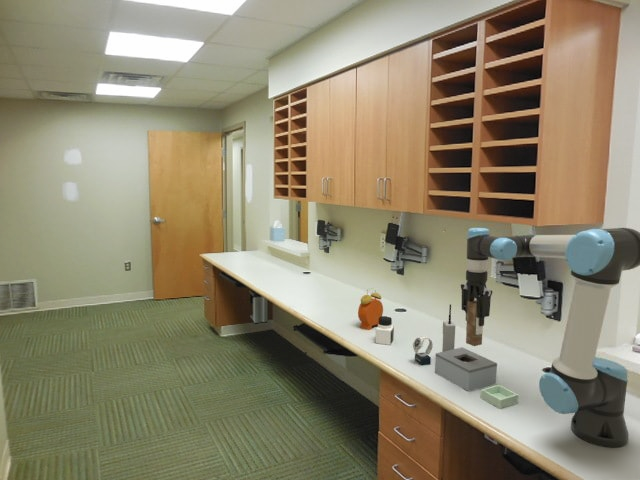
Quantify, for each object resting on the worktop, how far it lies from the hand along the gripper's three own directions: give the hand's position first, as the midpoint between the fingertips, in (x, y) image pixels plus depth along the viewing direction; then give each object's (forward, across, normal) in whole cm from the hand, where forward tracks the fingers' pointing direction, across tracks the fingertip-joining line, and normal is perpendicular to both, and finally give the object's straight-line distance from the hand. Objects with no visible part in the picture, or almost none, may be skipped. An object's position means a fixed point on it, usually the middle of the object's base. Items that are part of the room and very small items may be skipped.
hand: (474, 331), depth 177 cm
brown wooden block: (+5, 0, 0) cm, 5 cm away
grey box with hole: (+20, +4, -1) cm, 20 cm away
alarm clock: (+19, +72, -2) cm, 74 cm away
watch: (+20, +24, +4) cm, 31 cm away
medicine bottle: (+19, +50, +4) cm, 54 cm away
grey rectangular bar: (+20, +20, -6) cm, 28 cm away
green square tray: (+20, -14, +2) cm, 25 cm away
